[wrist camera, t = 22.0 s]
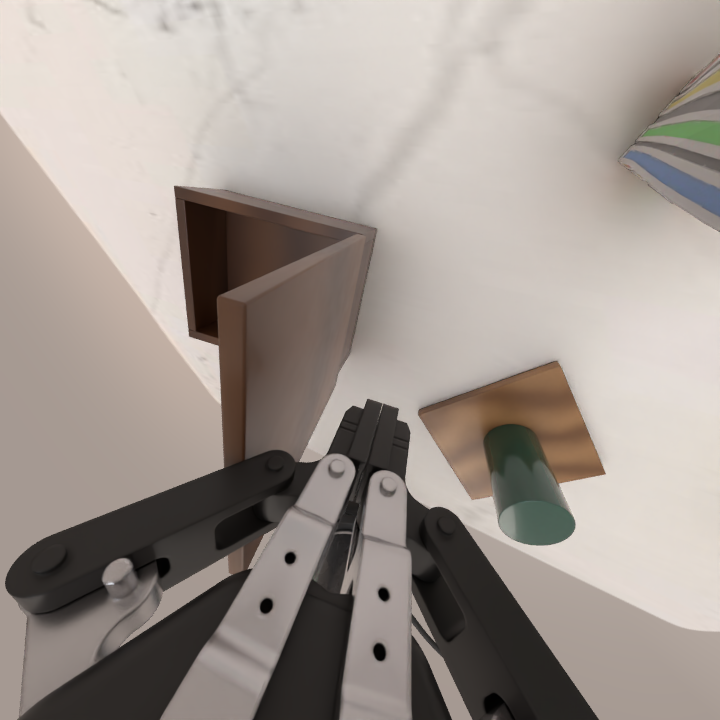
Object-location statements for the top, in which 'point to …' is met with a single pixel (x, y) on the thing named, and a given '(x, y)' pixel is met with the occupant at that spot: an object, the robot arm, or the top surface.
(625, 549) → the top surface
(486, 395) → the plate
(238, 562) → the lid
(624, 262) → the top surface
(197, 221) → the brown wooden box
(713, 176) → the vase
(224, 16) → the top surface
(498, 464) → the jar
